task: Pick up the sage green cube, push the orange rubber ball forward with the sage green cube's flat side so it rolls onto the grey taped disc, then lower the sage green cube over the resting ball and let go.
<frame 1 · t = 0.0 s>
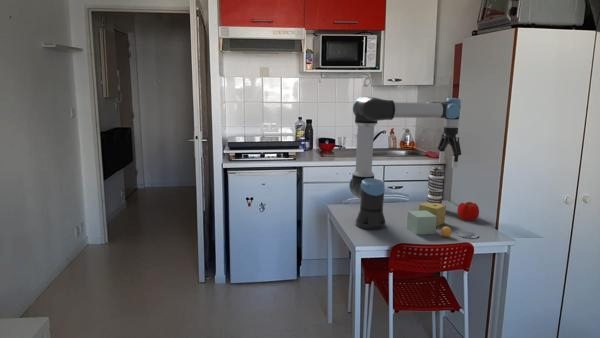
hand: (447, 165, 250), 28 cm above the table, tool pointing down, fingers open, 13 cm apart
ball: (446, 231, 217), on the table
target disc: (467, 235, 221), on the table
tomato: (467, 219, 247), on the table
sage green cube: (420, 230, 226), on the table
decorative candle: (433, 209, 264), on the table
cheese: (431, 223, 239), on the table
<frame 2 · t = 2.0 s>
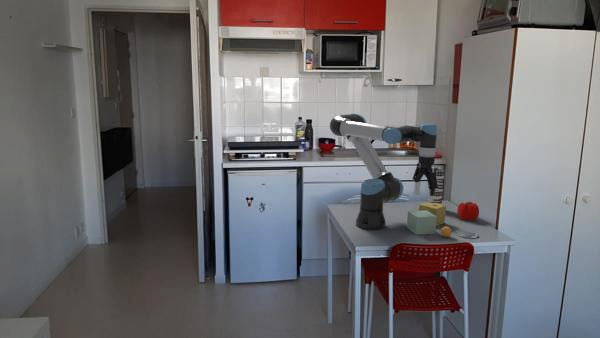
hand: (423, 198, 223), 17 cm above the table, tool pointing down, fingers open, 13 cm apart
nothing on the table moved.
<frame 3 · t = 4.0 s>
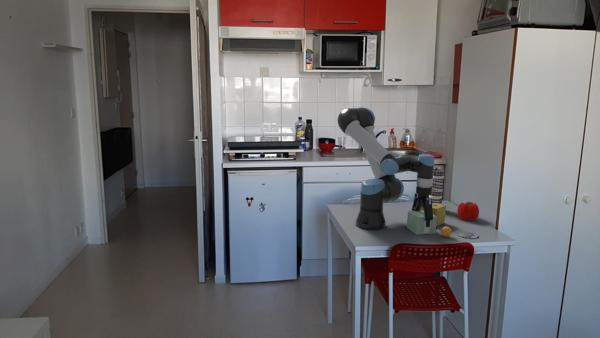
hand: (420, 229, 226), 1 cm above the table, tool pointing down, fingers closed on sage green cube, 10 cm apart
sage green cube: (420, 230, 226), on the table, touching gripper
everything else where it was.
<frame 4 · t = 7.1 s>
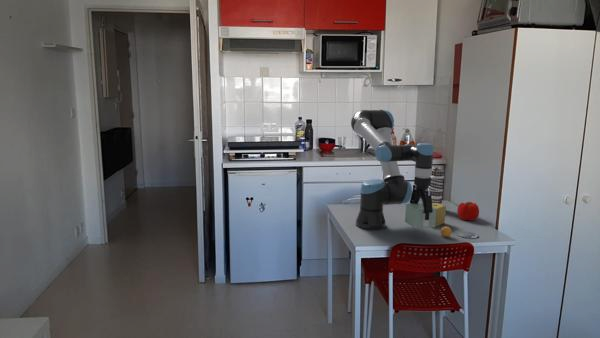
hand: (419, 222, 213), 8 cm above the table, tool pointing down, fingers closed on sage green cube, 10 cm apart
sage green cube: (419, 224, 213), point 7 cm above the table, touching gripper
everything else where it was.
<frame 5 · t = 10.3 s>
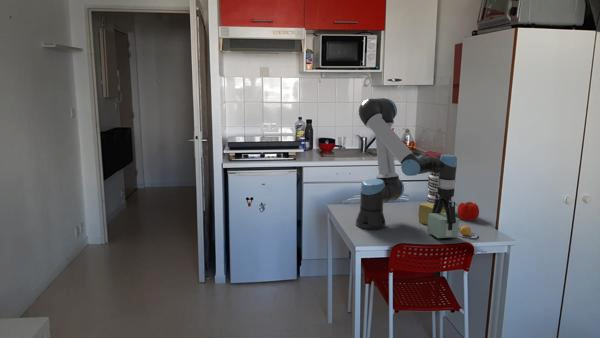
hand: (442, 232, 217), 2 cm above the table, tool pointing down, fingers closed on sage green cube, 10 cm apart
ball: (465, 230, 220), on the table
sage green cube: (442, 233, 217), point 2 cm above the table, touching gripper
everything else where it was.
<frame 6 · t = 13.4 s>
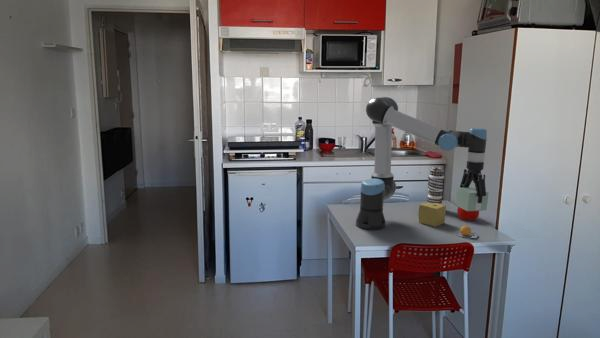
hand: (470, 206, 218), 15 cm above the table, tool pointing down, fingers closed on sage green cube, 10 cm apart
sage green cube: (470, 207, 218), point 14 cm above the table, touching gripper
everything else where it was.
when the fingers open (1 cm above the table, at t = 16.3 s): sage green cube stays where it is, on the table.
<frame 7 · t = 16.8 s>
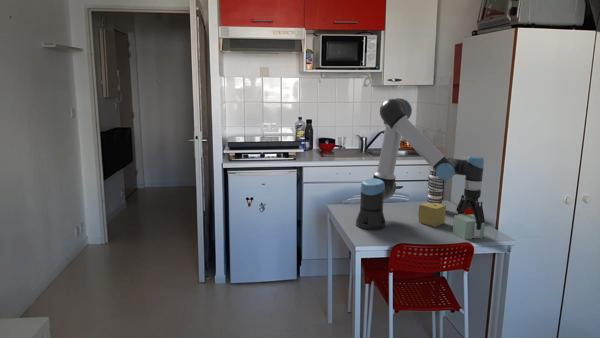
hand: (468, 231, 220), 2 cm above the table, tool pointing down, fingers open, 13 cm apart
sage green cube: (467, 235, 221), on the table
everything else where it was.
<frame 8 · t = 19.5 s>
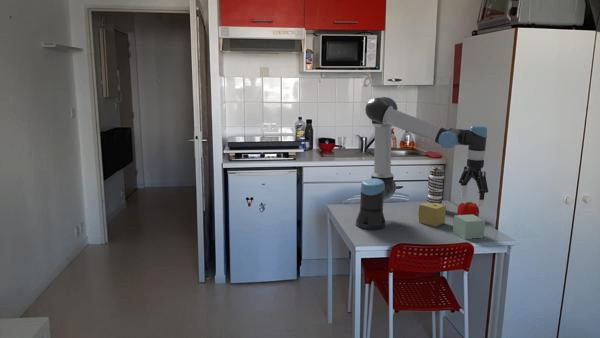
hand: (471, 202, 217), 17 cm above the table, tool pointing down, fingers open, 13 cm apart
nothing on the table moved.
at the end: ball 1.6 cm from the sage green cube (horizontally); sage green cube on the table; ball moved 10.4 cm from its start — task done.
